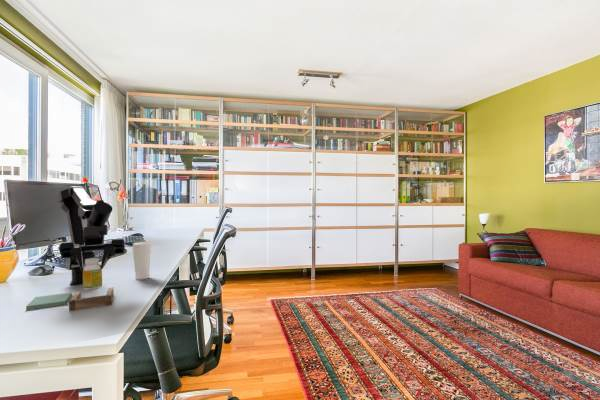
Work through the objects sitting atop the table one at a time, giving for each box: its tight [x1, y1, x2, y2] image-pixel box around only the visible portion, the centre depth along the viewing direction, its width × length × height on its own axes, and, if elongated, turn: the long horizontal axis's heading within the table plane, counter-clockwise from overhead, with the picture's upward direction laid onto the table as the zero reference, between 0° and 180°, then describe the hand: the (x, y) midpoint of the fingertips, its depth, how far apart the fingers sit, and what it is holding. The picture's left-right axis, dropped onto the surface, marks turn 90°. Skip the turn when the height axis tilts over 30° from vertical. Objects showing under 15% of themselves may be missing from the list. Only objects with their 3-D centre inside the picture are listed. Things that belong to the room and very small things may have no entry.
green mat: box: [25, 292, 73, 311], centre depth 105 cm, size 10×10×1 cm
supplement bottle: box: [82, 257, 103, 291], centre depth 106 cm, size 5×5×10 cm
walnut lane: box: [68, 286, 115, 312], centre depth 104 cm, size 10×11×3 cm
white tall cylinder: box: [132, 241, 152, 281], centre depth 134 cm, size 7×7×15 cm
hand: (91, 269), depth 105 cm, fingers closed on supplement bottle, 5 cm apart
